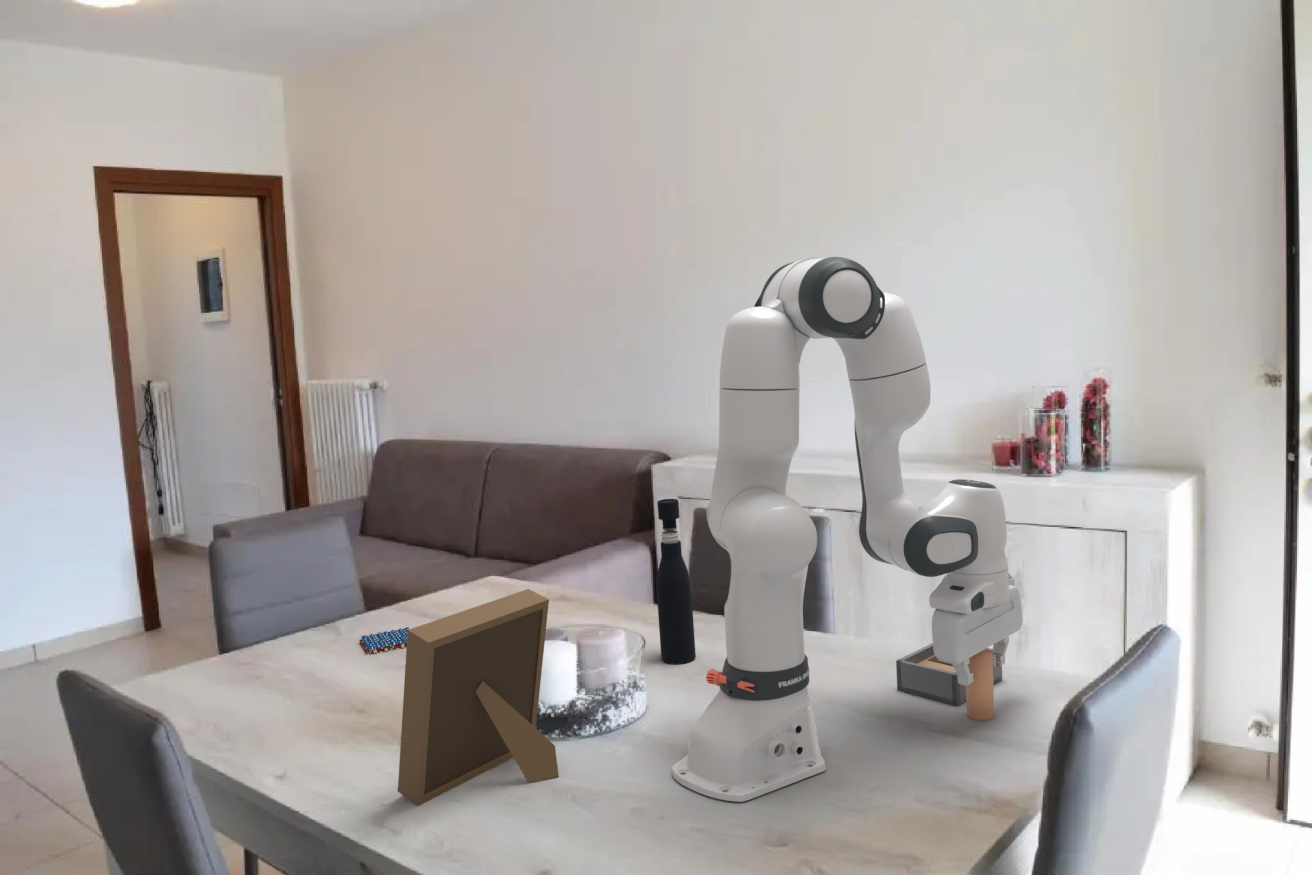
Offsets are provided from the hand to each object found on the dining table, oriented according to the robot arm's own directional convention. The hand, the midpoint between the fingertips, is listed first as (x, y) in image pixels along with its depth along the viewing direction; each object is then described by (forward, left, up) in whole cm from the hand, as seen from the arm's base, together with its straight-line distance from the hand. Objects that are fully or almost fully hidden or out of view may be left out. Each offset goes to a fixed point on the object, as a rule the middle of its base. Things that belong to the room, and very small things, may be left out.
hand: (982, 674), depth 152 cm
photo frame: (-61, +41, -7) cm, 74 cm away
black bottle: (-10, +56, -7) cm, 58 cm away
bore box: (+8, +10, -6) cm, 14 cm away
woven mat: (-40, +112, -7) cm, 120 cm away
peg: (0, 0, -6) cm, 6 cm away
